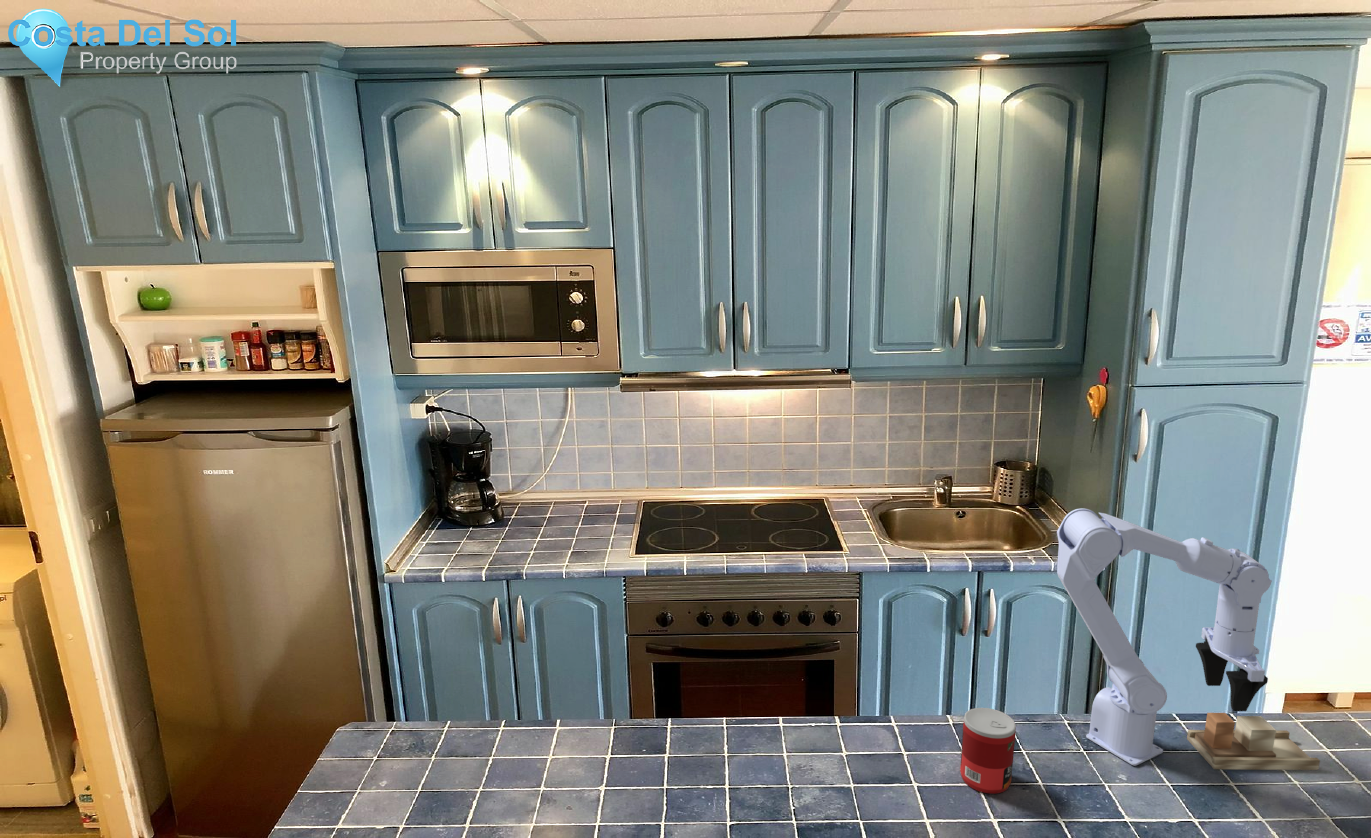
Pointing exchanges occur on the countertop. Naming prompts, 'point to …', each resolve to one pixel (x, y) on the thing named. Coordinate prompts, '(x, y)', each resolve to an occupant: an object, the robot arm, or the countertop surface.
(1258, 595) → the robot arm
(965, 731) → the canned food
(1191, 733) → the rail bed
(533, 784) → the countertop surface
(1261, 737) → the cube
